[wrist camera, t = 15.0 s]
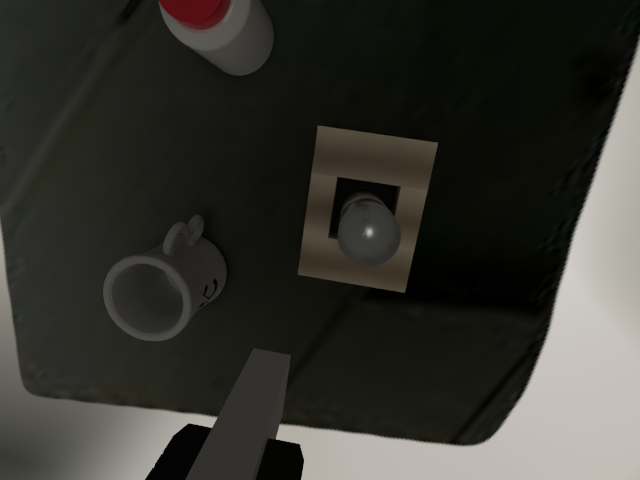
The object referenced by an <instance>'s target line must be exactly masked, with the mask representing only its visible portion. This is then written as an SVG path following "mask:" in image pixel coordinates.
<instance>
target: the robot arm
mask: <svg viewBox="0 0 640 480" xmlns="http://www.w3.org/2000/svg"><path fill="white" fill-rule="evenodd" d="M290 357H291V355H287V354H282V353H276V352H271V351H265V350H260V349H255V348H254V349H253V351H252V353H251V355H250V357H249V359H248V360H247V362H246V364H245V366H244V368H243V370H242V372H241V374H240V376H239V378H238V380H237V382H236V383H235V385H234V387H233V389H232V391H231V393H230V395H229V397H228V399H227V401H226V403H225V405H224V406H223V408H222V410H221V412H220V414H219V416H218V418H217V420H216V422H215V424H214V426H213V428H209V427H204V426H199V425H194V424H188V425H186V426H185V427H184V428H182V429H181V430H180V431H179V432H178V433H176V434H175V435H174V436H173V437H172V439H171V441H170V442H169V444H168V445H167V447H166V448H165V450H164V452H163V454H162V455H161V456H160V458H159V459H158V461H157V462H156V464H155V467H154V468H152V470H151V472H150V473H149V475H148V476H147V478H146V479H145V480H301V476H302V470H303V464H304V459H303V455H302V451H301V448H300V445H299V444H296V443H290V442H286V441H280V440H276V435H277V432H278V428H279V424H280V421H281V417H282V413H283V407H284V400H285V392H286V385H287V378H288V371H289V364H290Z"/></svg>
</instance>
